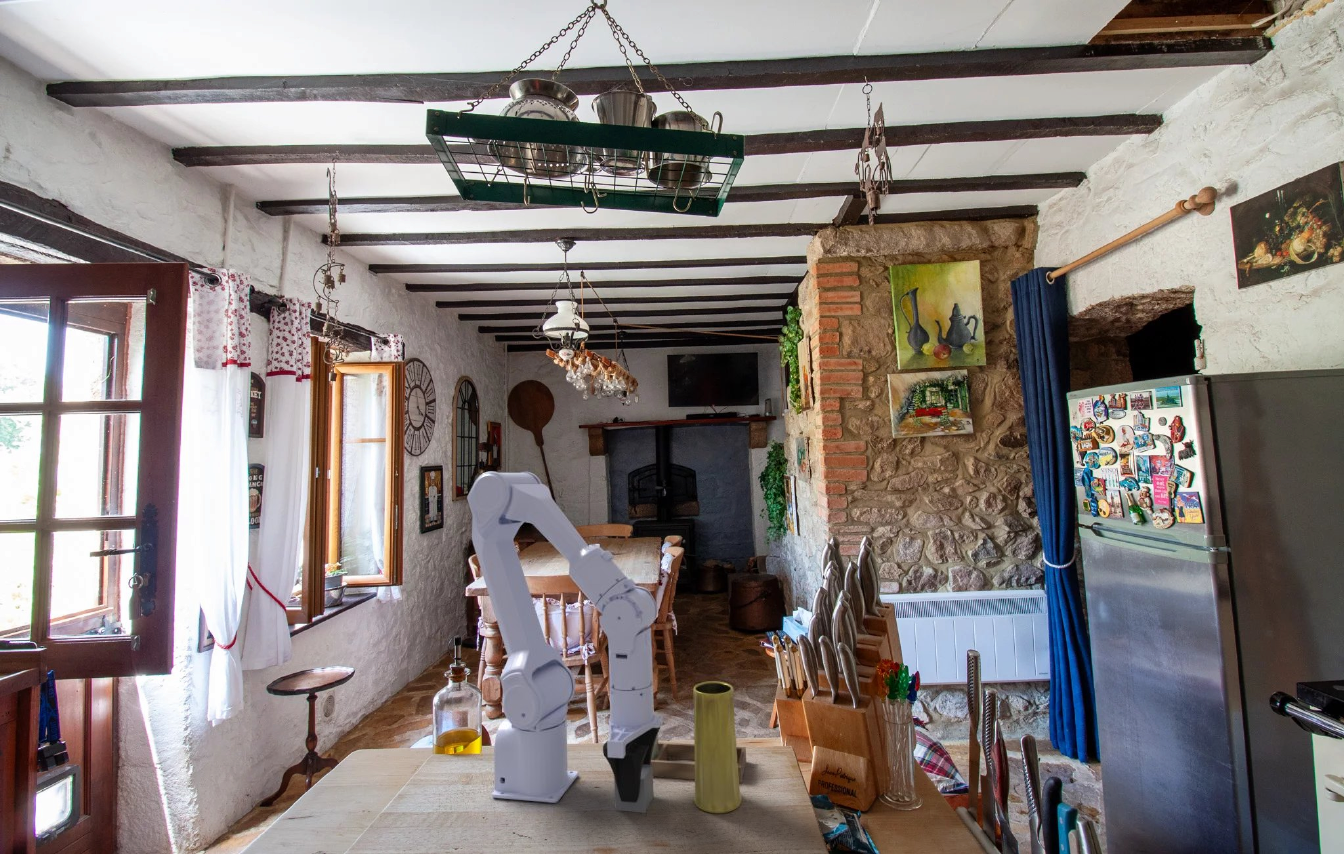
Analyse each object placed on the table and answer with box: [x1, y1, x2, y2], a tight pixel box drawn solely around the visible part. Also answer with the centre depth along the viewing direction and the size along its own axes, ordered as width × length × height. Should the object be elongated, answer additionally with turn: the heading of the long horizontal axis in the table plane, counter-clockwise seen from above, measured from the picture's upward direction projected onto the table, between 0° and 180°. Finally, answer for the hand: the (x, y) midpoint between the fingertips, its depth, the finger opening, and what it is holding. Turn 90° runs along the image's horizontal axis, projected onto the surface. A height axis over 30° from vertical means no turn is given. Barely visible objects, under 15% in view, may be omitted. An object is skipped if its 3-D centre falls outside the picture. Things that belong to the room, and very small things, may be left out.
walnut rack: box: [650, 733, 747, 784], centre depth 88 cm, size 18×6×4 cm, turn 77°
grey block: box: [613, 764, 654, 814], centre depth 79 cm, size 4×4×4 cm
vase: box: [692, 680, 742, 814], centre depth 79 cm, size 6×6×14 cm
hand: (634, 791), depth 79 cm, fingers closed on grey block, 4 cm apart
